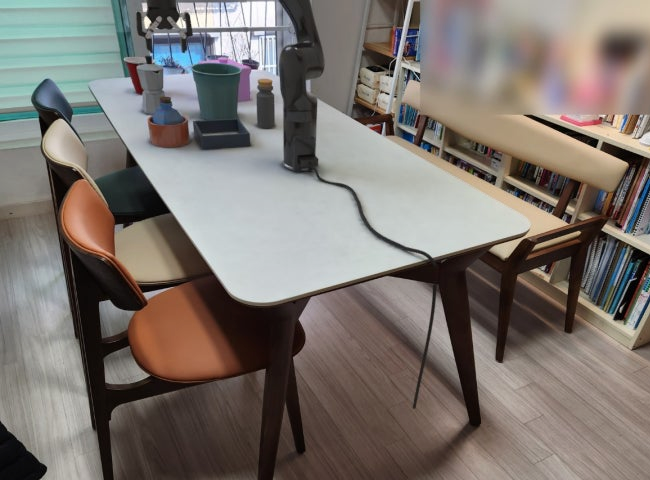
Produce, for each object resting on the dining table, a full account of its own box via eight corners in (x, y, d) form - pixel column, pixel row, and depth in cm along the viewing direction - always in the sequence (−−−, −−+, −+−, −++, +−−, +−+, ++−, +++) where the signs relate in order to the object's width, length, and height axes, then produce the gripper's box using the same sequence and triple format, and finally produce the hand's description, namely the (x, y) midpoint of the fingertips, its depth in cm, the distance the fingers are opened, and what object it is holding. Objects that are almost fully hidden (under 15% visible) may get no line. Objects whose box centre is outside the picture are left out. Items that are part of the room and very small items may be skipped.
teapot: (182, 95, 199) (178, 55, 191) (242, 88, 213) (240, 51, 205) (201, 106, 189) (197, 65, 182) (261, 98, 204) (260, 60, 196)
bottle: (276, 124, 181) (276, 79, 172) (272, 129, 176) (271, 83, 168) (260, 122, 181) (258, 77, 173) (255, 127, 176) (253, 81, 168)
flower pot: (234, 107, 192) (231, 61, 183) (251, 121, 181) (249, 73, 172) (188, 111, 184) (183, 63, 175) (203, 126, 173) (199, 75, 164)
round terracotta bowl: (192, 145, 158) (190, 124, 154) (153, 148, 154) (149, 126, 150) (186, 133, 166) (184, 112, 163) (148, 135, 162) (145, 114, 158)
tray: (250, 146, 162) (249, 133, 160) (202, 149, 156) (201, 136, 154) (239, 130, 173) (238, 118, 170) (193, 133, 167) (192, 120, 165)
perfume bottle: (173, 133, 163) (168, 93, 156) (185, 138, 160) (180, 98, 153) (155, 137, 159) (149, 97, 152) (167, 143, 156) (161, 102, 149)
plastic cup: (166, 93, 199) (162, 59, 192) (142, 98, 191) (136, 63, 184) (147, 86, 203) (142, 53, 196) (122, 91, 195) (116, 57, 189)
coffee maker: (176, 114, 180) (170, 59, 170) (151, 118, 174) (143, 61, 164) (157, 102, 188) (150, 49, 178) (133, 106, 183) (124, 51, 173)
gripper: (132, -12, 133) (142, 55, 142) (190, -10, 139) (196, 55, 148) (129, -16, 138) (138, 49, 147) (185, -14, 144) (191, 49, 153)
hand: (167, 52), depth 147 cm, fingers open, 8 cm apart
